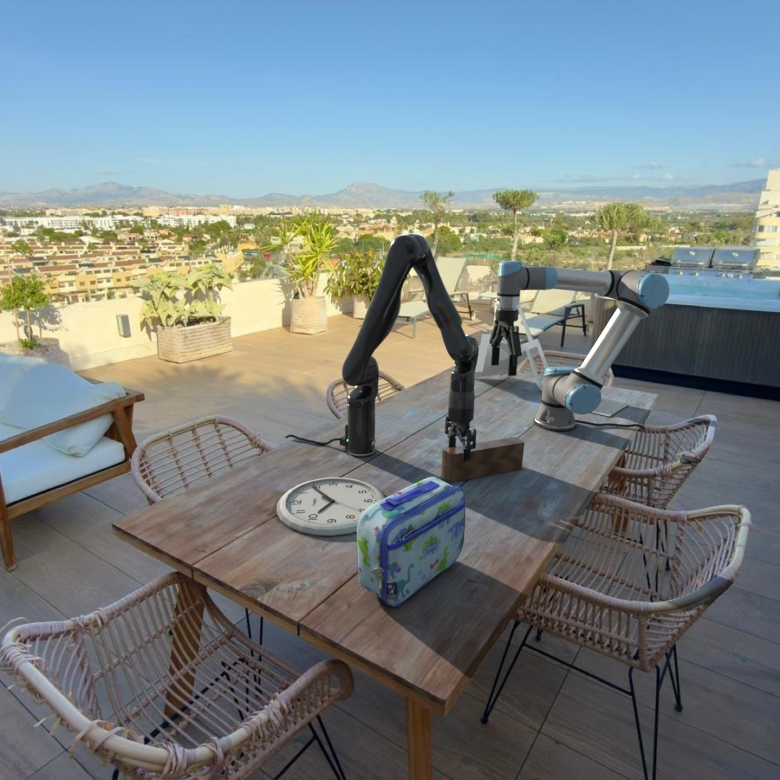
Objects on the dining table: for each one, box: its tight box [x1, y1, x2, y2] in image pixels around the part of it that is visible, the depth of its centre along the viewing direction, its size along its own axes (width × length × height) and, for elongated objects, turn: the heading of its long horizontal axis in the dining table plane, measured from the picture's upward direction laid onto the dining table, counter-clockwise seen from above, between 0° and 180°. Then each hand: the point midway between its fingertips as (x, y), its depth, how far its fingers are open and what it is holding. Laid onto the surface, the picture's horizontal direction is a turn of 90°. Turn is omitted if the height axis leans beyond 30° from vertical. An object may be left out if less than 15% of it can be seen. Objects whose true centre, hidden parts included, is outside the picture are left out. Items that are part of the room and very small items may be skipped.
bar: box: [440, 436, 525, 484], centre depth 162 cm, size 26×5×9 cm, turn 113°
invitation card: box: [591, 398, 629, 418], centre depth 226 cm, size 21×1×15 cm
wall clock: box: [276, 476, 386, 537], centre depth 142 cm, size 30×2×30 cm
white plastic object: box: [475, 306, 549, 391], centre depth 257 cm, size 37×45×31 cm
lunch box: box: [356, 476, 466, 608], centre depth 110 cm, size 26×11×21 cm, turn 134°
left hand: (458, 454), depth 157 cm, fingers open, 8 cm apart
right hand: (503, 370), depth 180 cm, fingers open, 13 cm apart
